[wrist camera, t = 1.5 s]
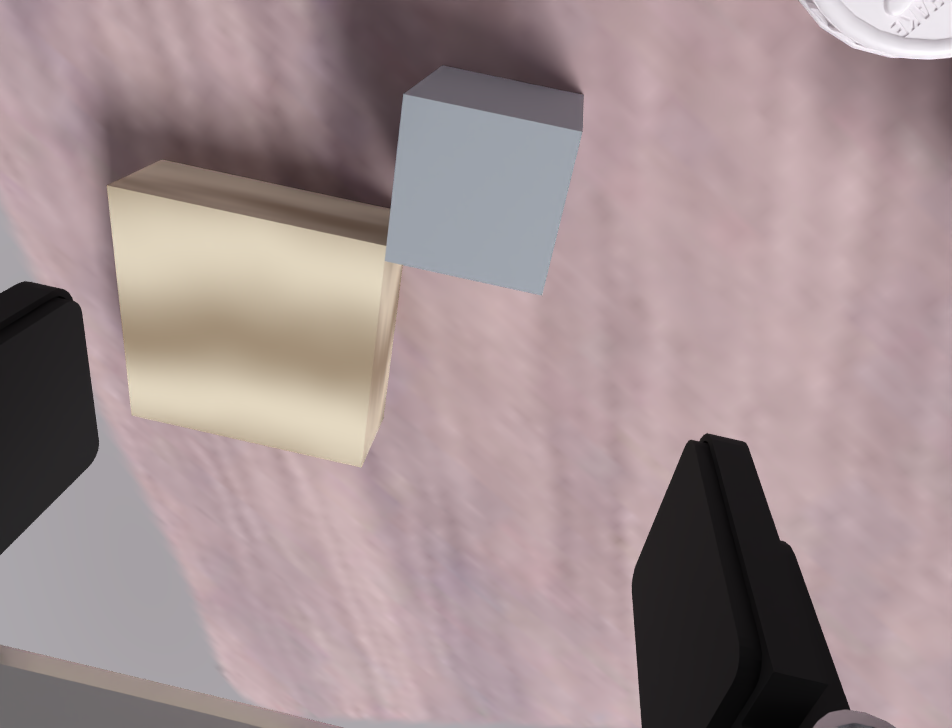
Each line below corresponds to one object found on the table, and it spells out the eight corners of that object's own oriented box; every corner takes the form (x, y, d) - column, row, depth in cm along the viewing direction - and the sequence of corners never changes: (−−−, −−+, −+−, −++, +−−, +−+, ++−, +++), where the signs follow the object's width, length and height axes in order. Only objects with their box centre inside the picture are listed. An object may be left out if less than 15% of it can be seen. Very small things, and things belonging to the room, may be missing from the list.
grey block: (442, 64, 24) (403, 94, 19) (583, 94, 24) (582, 131, 19) (424, 203, 27) (384, 261, 22) (550, 230, 27) (542, 295, 21)
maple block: (166, 157, 28) (106, 185, 24) (411, 209, 27) (386, 246, 24) (179, 367, 33) (131, 415, 29) (385, 413, 32) (361, 467, 29)
